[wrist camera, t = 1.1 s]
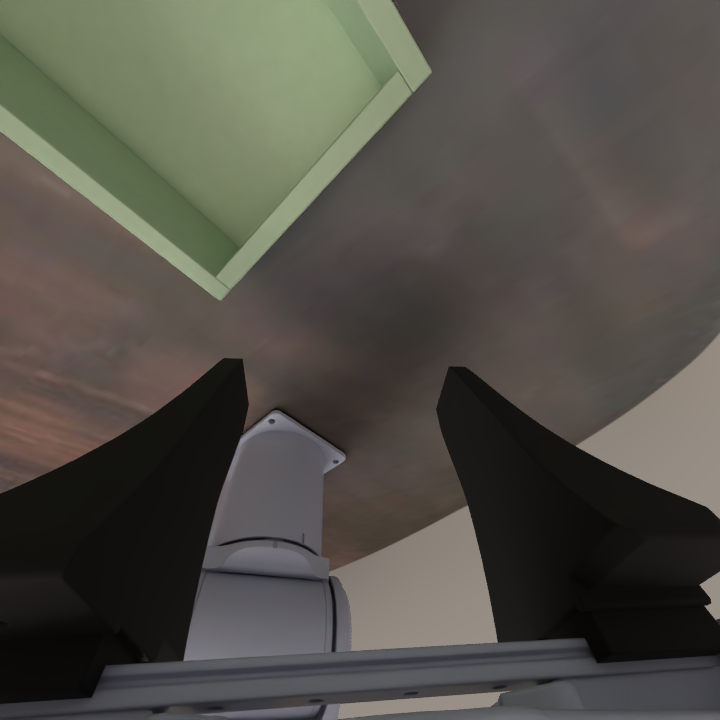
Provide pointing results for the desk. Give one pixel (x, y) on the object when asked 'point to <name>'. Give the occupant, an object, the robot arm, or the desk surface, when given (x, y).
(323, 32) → the storage bin
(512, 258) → the desk surface
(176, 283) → the desk surface
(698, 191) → the desk surface
